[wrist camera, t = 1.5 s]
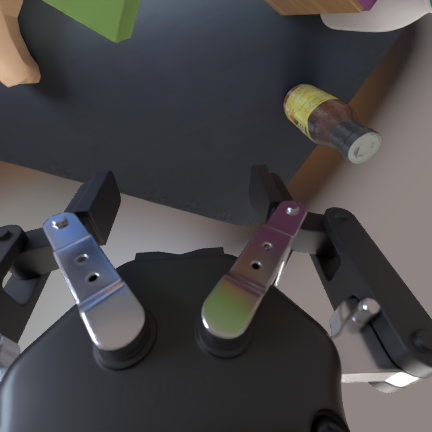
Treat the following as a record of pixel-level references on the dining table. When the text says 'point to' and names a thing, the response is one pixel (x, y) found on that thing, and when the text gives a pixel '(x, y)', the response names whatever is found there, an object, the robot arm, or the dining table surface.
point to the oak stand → (315, 6)
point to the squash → (14, 48)
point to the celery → (102, 15)
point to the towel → (367, 4)
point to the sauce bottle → (330, 123)
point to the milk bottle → (380, 16)
